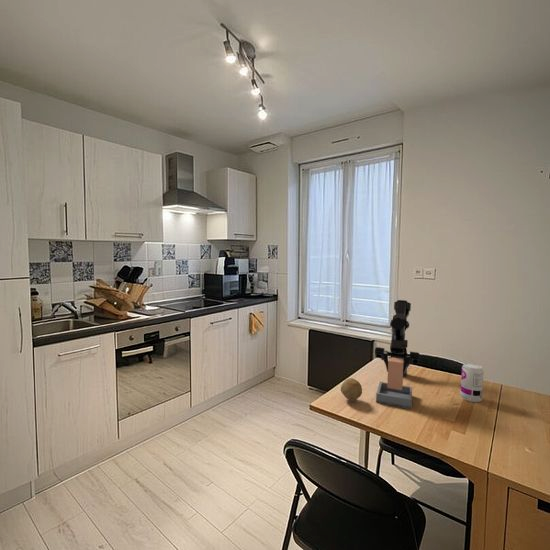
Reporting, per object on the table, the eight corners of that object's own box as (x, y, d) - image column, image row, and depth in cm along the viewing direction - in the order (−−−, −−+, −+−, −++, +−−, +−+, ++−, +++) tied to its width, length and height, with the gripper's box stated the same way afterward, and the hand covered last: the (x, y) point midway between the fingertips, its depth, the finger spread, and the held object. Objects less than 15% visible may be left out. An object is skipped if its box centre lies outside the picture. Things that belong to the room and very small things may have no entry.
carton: (388, 382, 145) (389, 356, 144) (402, 384, 142) (403, 358, 141) (387, 387, 139) (388, 360, 138) (401, 390, 137) (403, 362, 136)
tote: (376, 402, 138) (376, 393, 137) (379, 389, 150) (379, 381, 150) (411, 409, 132) (411, 399, 132) (411, 395, 145) (412, 387, 144)
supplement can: (460, 400, 141) (462, 367, 140) (459, 393, 148) (461, 361, 147) (482, 404, 137) (484, 370, 136) (480, 397, 144) (482, 364, 143)
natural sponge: (336, 401, 138) (337, 378, 138) (346, 394, 145) (347, 373, 144) (355, 408, 132) (356, 384, 132) (365, 400, 139) (366, 378, 138)
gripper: (376, 329, 147) (371, 360, 137) (420, 334, 139) (419, 367, 130) (377, 342, 154) (373, 372, 145) (419, 347, 147) (418, 379, 138)
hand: (395, 372), depth 139 cm, fingers closed on carton, 6 cm apart
